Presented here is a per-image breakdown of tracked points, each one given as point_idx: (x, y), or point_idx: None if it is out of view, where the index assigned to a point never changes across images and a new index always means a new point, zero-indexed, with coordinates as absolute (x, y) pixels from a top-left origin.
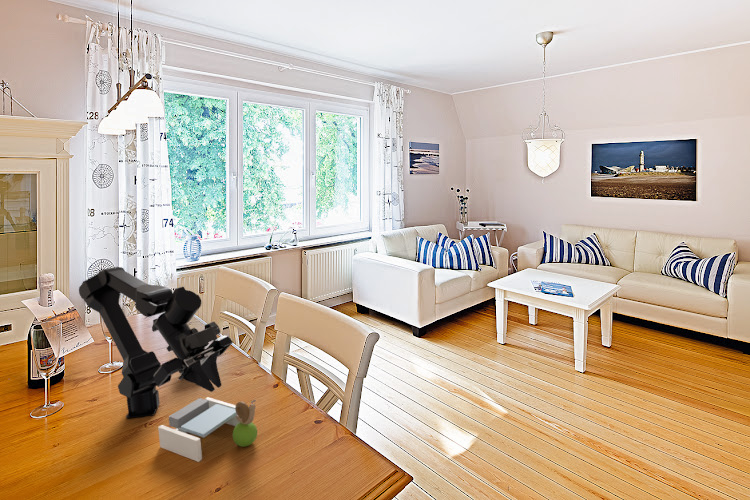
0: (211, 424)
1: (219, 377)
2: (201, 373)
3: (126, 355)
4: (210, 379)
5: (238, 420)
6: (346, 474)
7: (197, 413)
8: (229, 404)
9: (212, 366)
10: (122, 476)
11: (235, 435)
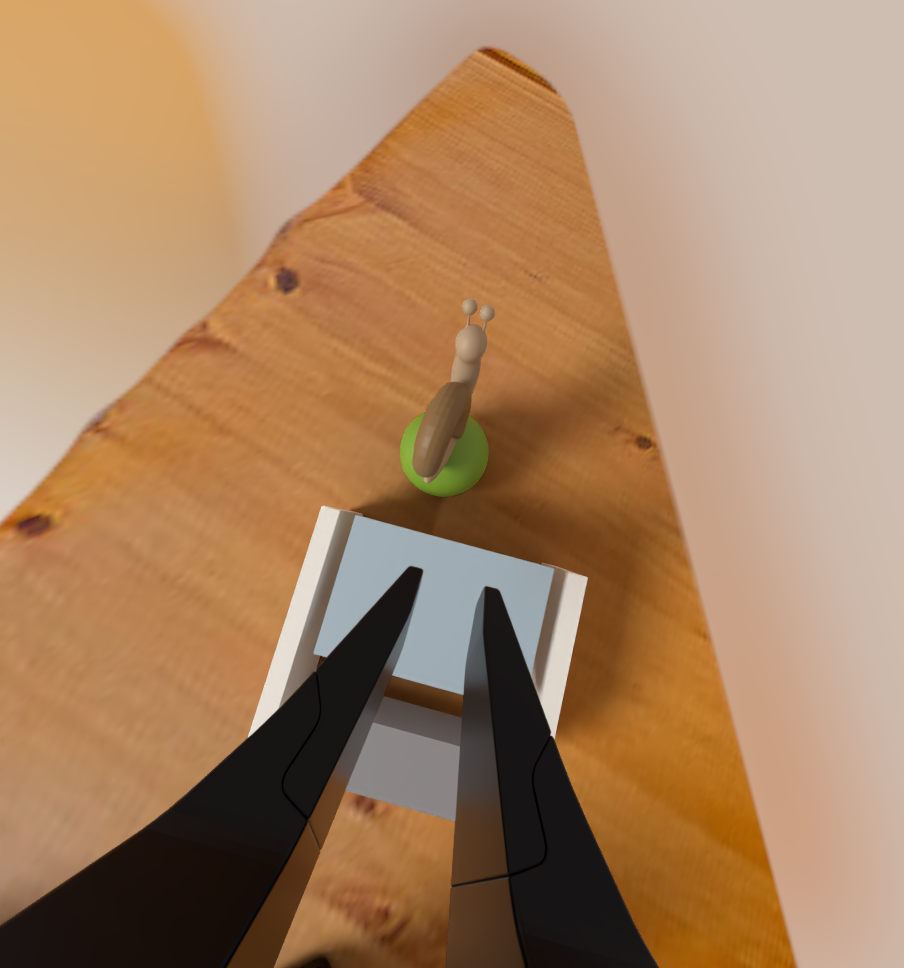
0: (482, 575)
1: (373, 610)
2: (549, 827)
3: None
4: (378, 707)
5: (444, 465)
6: (515, 150)
7: (390, 707)
8: (302, 589)
9: (318, 783)
10: (671, 774)
11: (483, 467)
